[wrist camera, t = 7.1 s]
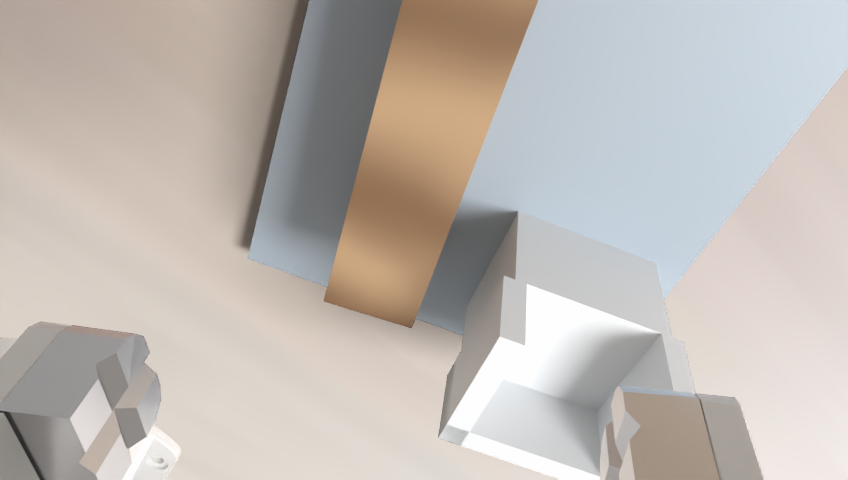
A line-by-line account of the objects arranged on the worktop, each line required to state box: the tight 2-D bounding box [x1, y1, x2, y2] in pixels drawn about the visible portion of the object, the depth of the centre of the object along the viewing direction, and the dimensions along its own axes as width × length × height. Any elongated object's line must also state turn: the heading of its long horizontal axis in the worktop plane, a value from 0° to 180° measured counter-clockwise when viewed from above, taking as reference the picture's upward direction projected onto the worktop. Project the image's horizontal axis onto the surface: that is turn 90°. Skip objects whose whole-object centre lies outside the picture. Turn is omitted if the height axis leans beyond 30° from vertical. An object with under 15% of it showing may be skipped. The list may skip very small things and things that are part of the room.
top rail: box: [324, 0, 538, 328], centre depth 23 cm, size 26×4×5 cm, turn 164°
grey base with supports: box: [248, 0, 848, 480], centre depth 23 cm, size 34×20×10 cm, turn 161°
